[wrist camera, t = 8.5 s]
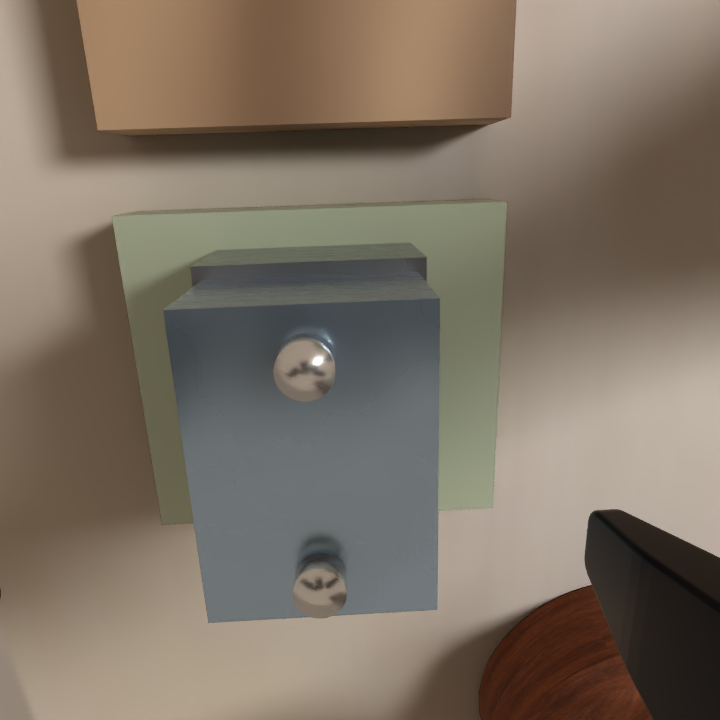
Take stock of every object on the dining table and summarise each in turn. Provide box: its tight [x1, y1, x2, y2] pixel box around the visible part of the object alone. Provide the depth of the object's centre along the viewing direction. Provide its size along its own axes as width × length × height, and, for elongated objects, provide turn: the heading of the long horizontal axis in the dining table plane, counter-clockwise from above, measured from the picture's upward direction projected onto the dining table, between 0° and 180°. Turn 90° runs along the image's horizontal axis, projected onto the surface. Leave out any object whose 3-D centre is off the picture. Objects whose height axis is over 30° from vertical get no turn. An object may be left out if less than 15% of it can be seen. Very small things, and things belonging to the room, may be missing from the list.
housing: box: [163, 242, 440, 623], centre depth 13 cm, size 7×5×6 cm
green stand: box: [112, 199, 507, 525], centre depth 17 cm, size 10×9×2 cm
